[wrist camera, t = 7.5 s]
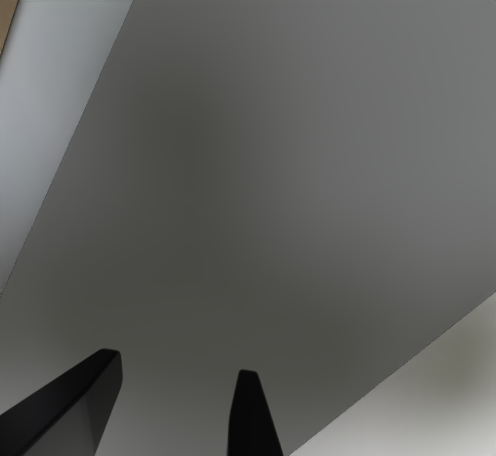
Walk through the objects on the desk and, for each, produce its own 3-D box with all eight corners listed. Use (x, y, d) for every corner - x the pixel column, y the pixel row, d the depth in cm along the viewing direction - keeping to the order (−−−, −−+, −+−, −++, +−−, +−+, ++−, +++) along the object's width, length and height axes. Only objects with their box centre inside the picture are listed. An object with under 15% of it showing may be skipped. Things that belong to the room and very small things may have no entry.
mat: (865, -37, 6) (920, -46, 6) (149, 553, 17) (144, 570, 16) (401, -547, 5) (414, -627, 4) (-60, 446, 15) (-73, 460, 15)
